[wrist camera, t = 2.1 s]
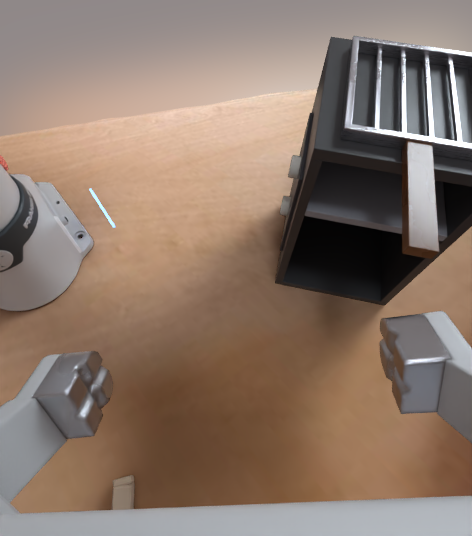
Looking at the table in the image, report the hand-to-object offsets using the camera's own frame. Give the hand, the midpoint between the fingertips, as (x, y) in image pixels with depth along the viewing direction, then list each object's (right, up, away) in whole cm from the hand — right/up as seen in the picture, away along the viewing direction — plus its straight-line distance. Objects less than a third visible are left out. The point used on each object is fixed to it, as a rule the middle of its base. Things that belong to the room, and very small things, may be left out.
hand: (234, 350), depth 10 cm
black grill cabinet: (+15, +6, +44) cm, 47 cm away
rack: (+15, +13, +19) cm, 27 cm away
